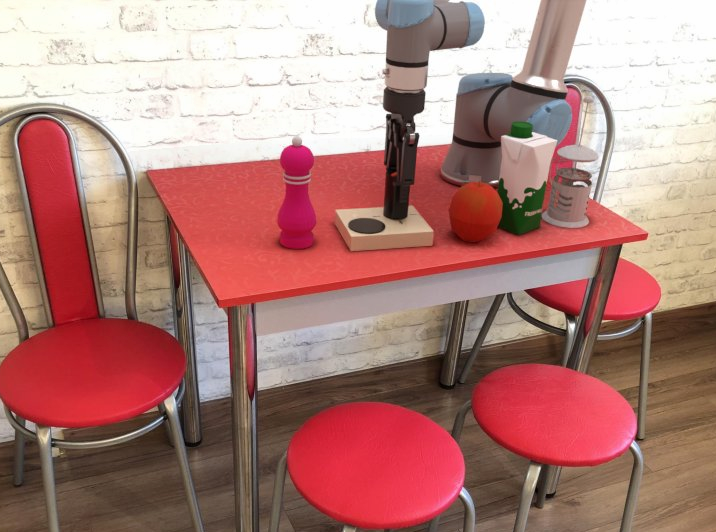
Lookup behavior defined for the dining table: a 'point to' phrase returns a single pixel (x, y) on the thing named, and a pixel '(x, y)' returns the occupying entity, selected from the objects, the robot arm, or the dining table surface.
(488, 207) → the apple
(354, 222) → the burner
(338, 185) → the dining table surface
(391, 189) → the hob knob
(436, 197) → the dining table surface
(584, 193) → the french press
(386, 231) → the hob
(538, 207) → the milk carton
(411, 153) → the robot arm
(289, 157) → the pepper mill
